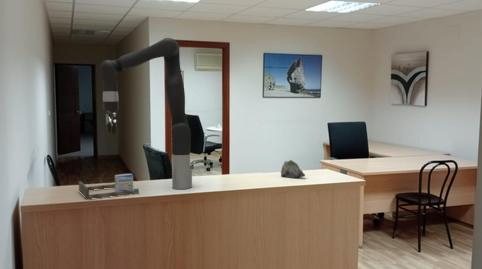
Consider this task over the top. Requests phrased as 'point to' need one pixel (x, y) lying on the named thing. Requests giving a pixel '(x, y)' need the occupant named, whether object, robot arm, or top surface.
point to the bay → (85, 192)
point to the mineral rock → (291, 170)
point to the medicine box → (123, 182)
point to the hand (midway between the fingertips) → (111, 132)
